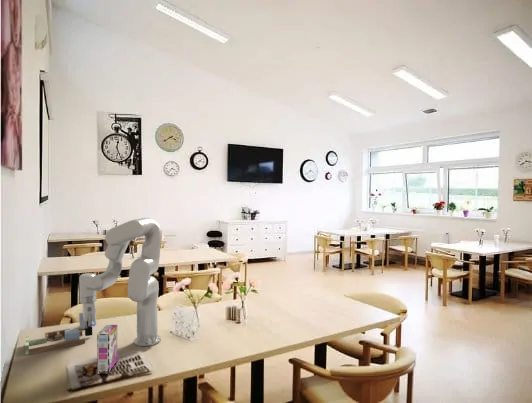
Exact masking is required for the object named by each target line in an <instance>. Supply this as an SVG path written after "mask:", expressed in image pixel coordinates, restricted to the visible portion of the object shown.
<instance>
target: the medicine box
mask: <svg viewBox="0 0 532 403" xmlns="http://www.w3.org/2000/svg"><path fill="white" fill-rule="evenodd" d="M78 316H79V319H78V320H79V329H80V330H85V322H84V320H83V311H81V312H79V314H78ZM95 318H96V319H97V310H96V308H95ZM95 324H96V325H97V321H96V322H93V320H92V327H94V326H95Z"/></svg>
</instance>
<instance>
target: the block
mask: <svg viewBox="0 0 532 403" xmlns="http://www.w3.org/2000/svg"><path fill="white" fill-rule="evenodd" d="M69 329H70V330H65V338H64V342H68V341H73V340H78V339H81V336H80V333H79V331H80V330H79V329H80V328H78V327H77V328H72V329H71V328H69Z"/></svg>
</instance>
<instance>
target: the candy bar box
mask: <svg viewBox="0 0 532 403" xmlns="http://www.w3.org/2000/svg"><path fill="white" fill-rule="evenodd" d="M96 335H97V336H96V340H97V342H96V343H97V345H96V346H97V348H96V354H97V355H96V356H97V359H96V360H97V361H96V362H97V363H96V364H97V365H96V366H97V368H96V369H97V371H100V372H101V371H110V370H111V368H112V367H113V365H114V364H115V363H116V361H117V362H118V324H106V325H105V326H104V327H103V328H101V330H100V331H99V332H98V333H97V334H96ZM116 364H117V363H116ZM113 368H114V367H113ZM111 371H112V370H111Z"/></svg>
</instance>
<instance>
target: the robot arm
mask: <svg viewBox="0 0 532 403" xmlns="http://www.w3.org/2000/svg"><path fill="white" fill-rule="evenodd" d="M162 232H163V231H162V227H161V226H160V224H159V223H158V222H157V221H156V220H155V219H153V218H150V217H142V218H135V219H131V220H128V221H125V222H124V223H121V224H119V225H117V226H114V227H111V228H109V229H108V230H107V231H106V233H105V237H104V239H105V242H106V245H107V247H106V250H105V252H104V256H105V258H106V259H108V265H107V267H106V269H105V271H104V272H102V273H99V274H95V273H93V272H88V273H87V272H86V273H82V274H80V276H79V278H78V279H79V280H78V281H79V283H78V284H79V287H78V288H79V304H82V312H83V320H84V322H85V329H84V336H85V337H90V336H93V326H92V320H93V322H96V323H97V317H96V318H95V309H96V305H95V303H96V302H97V292H100V291H103V290H105V289H107V288H109V287H112V286H113V285H115V283H116V282H117V280H118V278H119V276H120V274H121V272H122V268H123V258H124V256H125V253H126V251H127V248H128V246H129V244H130V242H131V241H132V240H135V239H137V238H142V237H144V240H143V241H142V246H141V254H140V257H138V258H136V259H135V260H134V261H132V262H131V265H130V267H129V274H128V281H127V295H128V297H129V299H130V300H131V301H132V302H135V303H136V337H135V338H134V339H133V344H134V345H135V346H138V347H151V346H154V345H156V344H159V343H160V342H161V341H162V337H161V336H160V335H159V334H158V296H159V290H160V288H159V281H158V280H157V278H156V277H155V276H152V275H153V274H155V273H156V272H157V271H158V270H159V265H160V256H161V245H162V240H163V239H162V237H163V233H162Z"/></svg>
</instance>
